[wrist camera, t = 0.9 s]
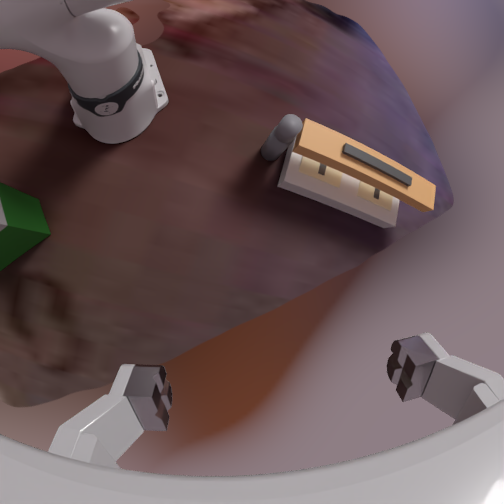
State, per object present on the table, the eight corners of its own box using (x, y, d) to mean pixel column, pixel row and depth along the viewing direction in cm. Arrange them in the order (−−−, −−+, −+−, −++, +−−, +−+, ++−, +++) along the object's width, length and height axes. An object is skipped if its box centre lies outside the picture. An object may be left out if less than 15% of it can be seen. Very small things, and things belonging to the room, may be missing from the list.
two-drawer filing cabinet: (252, 177, 52) (263, 163, 44) (269, 122, 53) (282, 101, 45) (383, 228, 57) (408, 224, 49) (391, 176, 58) (415, 167, 50)
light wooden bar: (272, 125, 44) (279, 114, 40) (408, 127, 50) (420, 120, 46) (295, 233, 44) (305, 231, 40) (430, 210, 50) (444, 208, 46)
